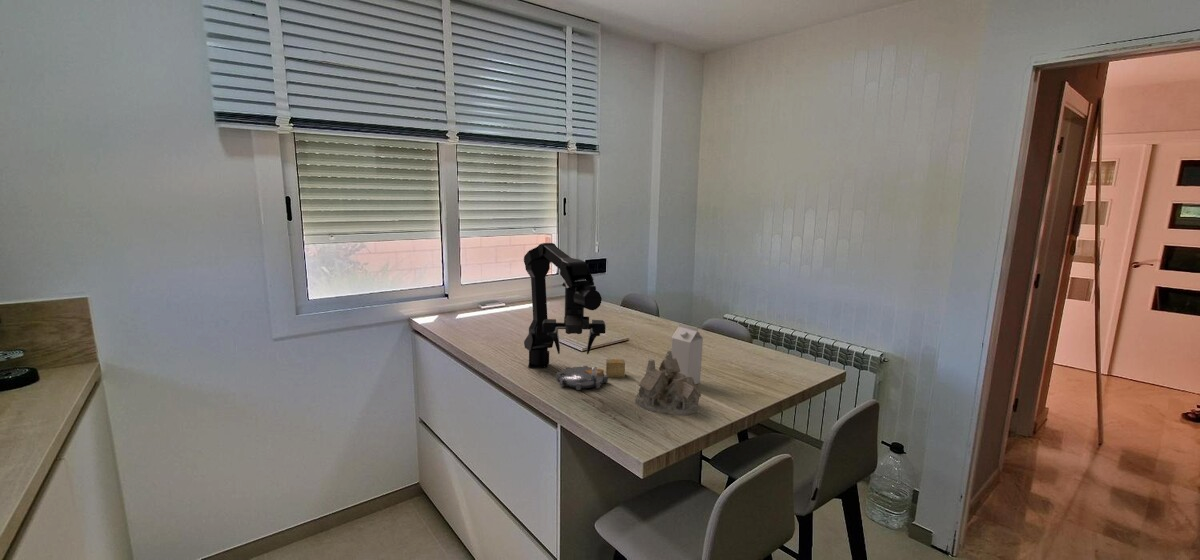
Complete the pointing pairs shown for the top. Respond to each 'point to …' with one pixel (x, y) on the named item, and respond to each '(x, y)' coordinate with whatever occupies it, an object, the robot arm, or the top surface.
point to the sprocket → (582, 377)
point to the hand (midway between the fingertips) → (573, 353)
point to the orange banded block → (615, 367)
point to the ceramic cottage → (668, 389)
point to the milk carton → (688, 351)
